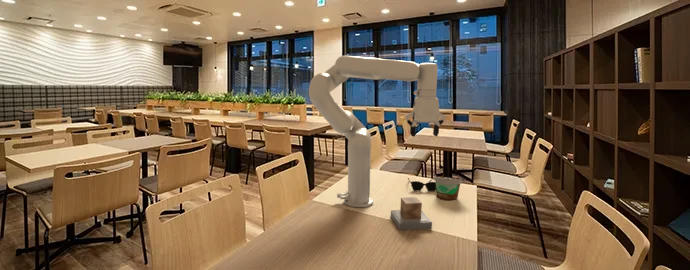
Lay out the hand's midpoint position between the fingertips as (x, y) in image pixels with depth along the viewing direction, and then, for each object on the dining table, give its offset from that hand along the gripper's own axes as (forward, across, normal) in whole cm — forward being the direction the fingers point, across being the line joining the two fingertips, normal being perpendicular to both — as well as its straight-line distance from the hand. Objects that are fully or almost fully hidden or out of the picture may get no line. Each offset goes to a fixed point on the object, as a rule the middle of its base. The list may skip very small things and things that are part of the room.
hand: (424, 135), depth 136 cm
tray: (+30, -10, -16) cm, 36 cm away
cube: (+28, -10, -16) cm, 33 cm away
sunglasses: (+31, +10, +26) cm, 41 cm away
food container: (+31, +14, +6) cm, 34 cm away
